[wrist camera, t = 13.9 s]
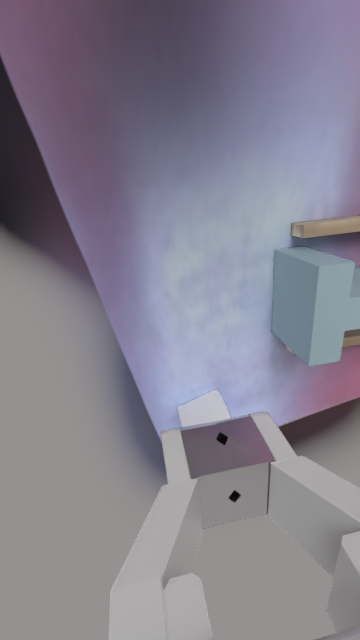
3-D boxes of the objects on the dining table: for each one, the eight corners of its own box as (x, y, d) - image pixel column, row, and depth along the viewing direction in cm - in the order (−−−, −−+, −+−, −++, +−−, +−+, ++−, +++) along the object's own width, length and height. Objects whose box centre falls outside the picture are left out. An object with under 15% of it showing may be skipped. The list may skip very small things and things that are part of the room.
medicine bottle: (193, 436, 50) (212, 504, 39) (176, 406, 47) (191, 471, 36) (232, 418, 50) (262, 481, 39) (217, 387, 47) (245, 446, 36)
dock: (291, 223, 38) (304, 225, 36) (396, 210, 40) (416, 212, 37) (284, 345, 46) (294, 355, 43) (373, 330, 47) (388, 339, 45)
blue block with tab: (274, 249, 39) (319, 266, 30) (370, 237, 41) (440, 250, 32) (271, 331, 44) (308, 366, 35) (357, 317, 46) (414, 348, 37)
